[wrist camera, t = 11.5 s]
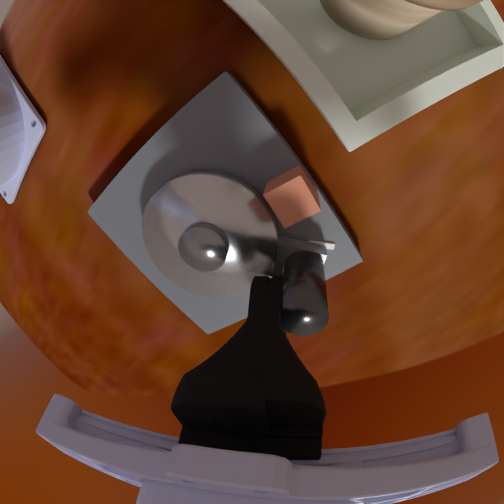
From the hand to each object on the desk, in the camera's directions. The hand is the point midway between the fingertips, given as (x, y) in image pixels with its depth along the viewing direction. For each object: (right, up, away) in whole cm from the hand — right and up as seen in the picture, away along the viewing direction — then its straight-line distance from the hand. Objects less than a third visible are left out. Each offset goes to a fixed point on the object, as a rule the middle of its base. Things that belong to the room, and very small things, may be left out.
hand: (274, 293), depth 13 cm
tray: (+4, +12, -6) cm, 14 cm away
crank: (-2, +2, 0) cm, 3 cm away
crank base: (-3, +3, +1) cm, 5 cm away
